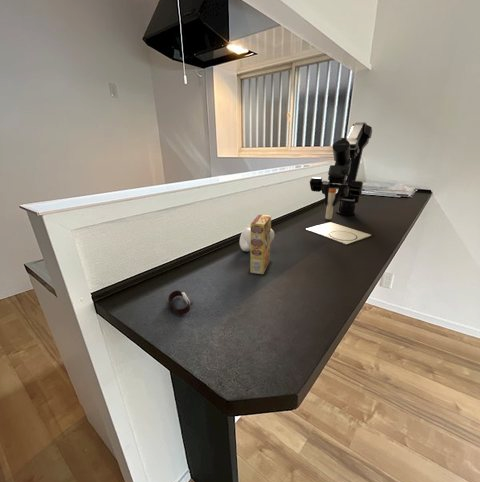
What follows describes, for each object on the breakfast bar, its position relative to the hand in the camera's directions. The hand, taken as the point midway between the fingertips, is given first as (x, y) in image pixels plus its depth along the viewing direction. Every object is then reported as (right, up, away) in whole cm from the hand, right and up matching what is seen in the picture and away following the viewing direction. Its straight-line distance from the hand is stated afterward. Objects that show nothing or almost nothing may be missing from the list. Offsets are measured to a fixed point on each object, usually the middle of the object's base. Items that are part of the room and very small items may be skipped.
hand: (329, 205), depth 97 cm
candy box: (-27, -22, -17) cm, 39 cm away
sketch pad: (+7, -9, +10) cm, 15 cm away
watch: (-47, -31, -35) cm, 66 cm away
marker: (+1, -5, +4) cm, 7 cm away
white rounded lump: (-28, -17, -6) cm, 33 cm away
